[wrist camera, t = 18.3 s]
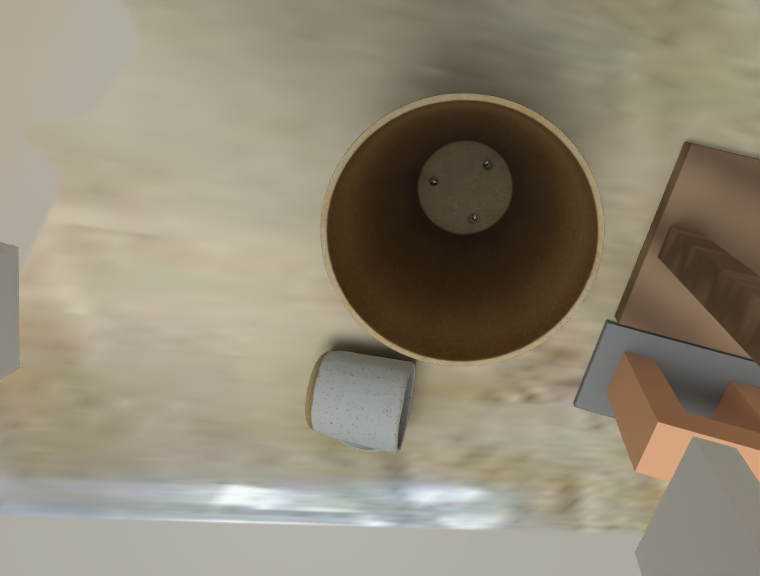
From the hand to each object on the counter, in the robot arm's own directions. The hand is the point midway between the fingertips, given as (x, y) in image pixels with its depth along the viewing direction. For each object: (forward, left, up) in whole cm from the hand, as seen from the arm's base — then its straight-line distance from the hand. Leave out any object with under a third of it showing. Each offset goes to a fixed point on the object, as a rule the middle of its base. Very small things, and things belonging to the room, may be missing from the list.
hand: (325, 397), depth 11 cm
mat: (+14, +23, -37) cm, 45 cm away
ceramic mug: (+22, -1, -37) cm, 43 cm away
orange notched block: (+14, +23, -36) cm, 45 cm away
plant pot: (+2, +2, -37) cm, 37 cm away
